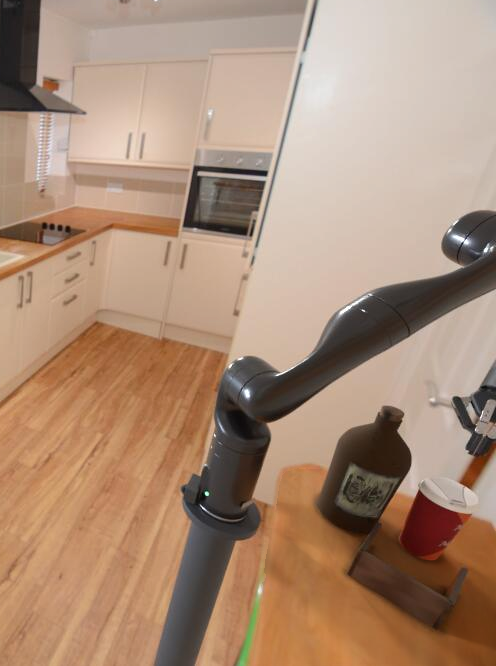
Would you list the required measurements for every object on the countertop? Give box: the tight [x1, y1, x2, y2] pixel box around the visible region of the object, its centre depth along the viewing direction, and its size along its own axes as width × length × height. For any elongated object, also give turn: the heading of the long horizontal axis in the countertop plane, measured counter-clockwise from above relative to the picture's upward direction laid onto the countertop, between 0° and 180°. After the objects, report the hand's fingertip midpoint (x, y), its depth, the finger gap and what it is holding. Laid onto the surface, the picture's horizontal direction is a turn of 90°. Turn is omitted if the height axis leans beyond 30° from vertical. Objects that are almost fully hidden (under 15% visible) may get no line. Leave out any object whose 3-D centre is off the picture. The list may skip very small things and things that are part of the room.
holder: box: [346, 521, 469, 631], centre depth 76 cm, size 12×10×6 cm
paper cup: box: [398, 475, 480, 561], centre depth 81 cm, size 8×8×14 cm
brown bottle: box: [316, 405, 413, 533], centre depth 85 cm, size 11×11×25 cm
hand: (473, 454), depth 84 cm, fingers closed
